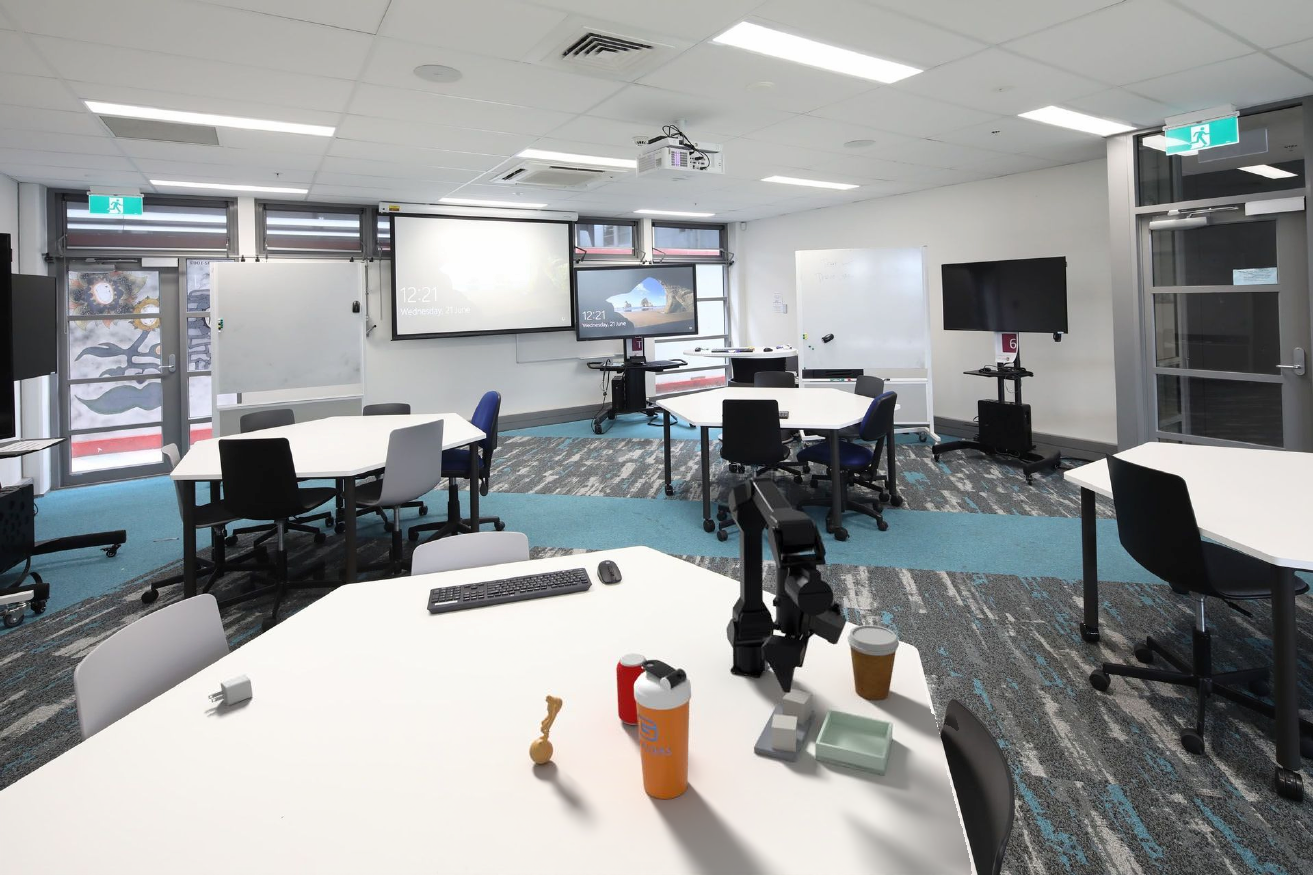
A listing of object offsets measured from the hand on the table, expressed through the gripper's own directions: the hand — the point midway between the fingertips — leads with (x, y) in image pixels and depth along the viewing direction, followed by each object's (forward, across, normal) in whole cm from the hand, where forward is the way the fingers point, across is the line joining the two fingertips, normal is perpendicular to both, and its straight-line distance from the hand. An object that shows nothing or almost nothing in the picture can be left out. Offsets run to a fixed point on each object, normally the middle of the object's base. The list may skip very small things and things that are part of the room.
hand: (793, 678), depth 120 cm
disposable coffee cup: (+12, +23, -10) cm, 28 cm away
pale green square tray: (+12, +3, -10) cm, 16 cm away
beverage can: (+12, -2, +29) cm, 32 cm away
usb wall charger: (+12, -25, +109) cm, 112 cm away
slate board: (+12, +3, +2) cm, 13 cm away
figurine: (+12, -19, +38) cm, 44 cm away
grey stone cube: (+11, +8, +1) cm, 14 cm away
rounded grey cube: (+11, -1, +1) cm, 12 cm away
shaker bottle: (+13, -18, +17) cm, 27 cm away
